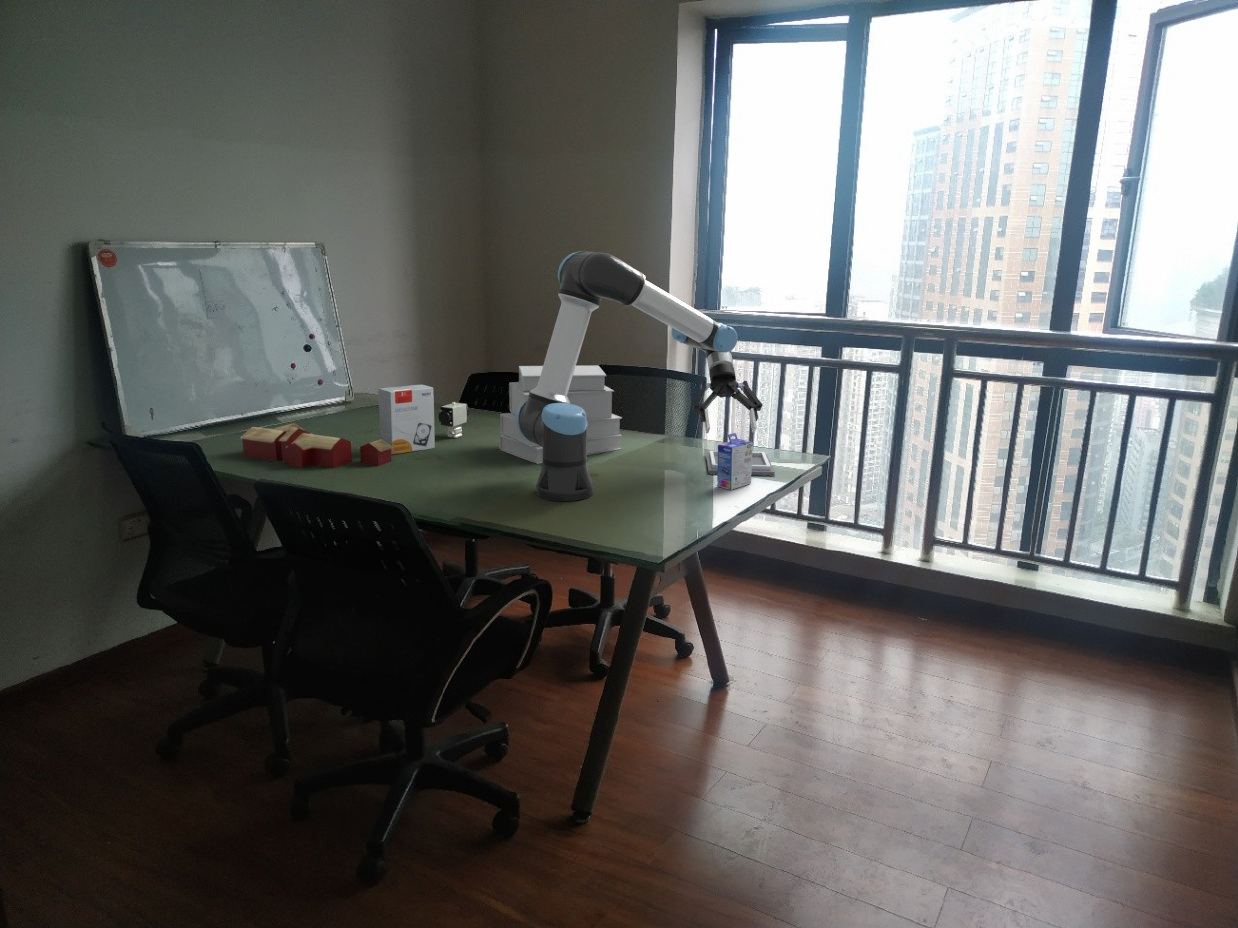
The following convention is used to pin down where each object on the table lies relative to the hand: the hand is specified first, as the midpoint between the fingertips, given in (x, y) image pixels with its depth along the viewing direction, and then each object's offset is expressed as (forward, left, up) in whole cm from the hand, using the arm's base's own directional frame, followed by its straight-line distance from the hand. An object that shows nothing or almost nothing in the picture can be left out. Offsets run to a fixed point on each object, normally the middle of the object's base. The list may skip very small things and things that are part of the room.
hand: (731, 430), depth 246 cm
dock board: (+4, +13, -14) cm, 19 cm away
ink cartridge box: (+1, -8, -14) cm, 16 cm away
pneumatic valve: (-90, +40, -14) cm, 100 cm away
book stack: (-52, +26, -14) cm, 60 cm away
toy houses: (-124, +6, -14) cm, 124 cm away
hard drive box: (-100, +21, -14) cm, 103 cm away
